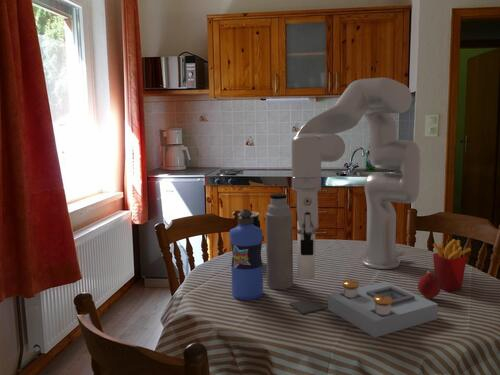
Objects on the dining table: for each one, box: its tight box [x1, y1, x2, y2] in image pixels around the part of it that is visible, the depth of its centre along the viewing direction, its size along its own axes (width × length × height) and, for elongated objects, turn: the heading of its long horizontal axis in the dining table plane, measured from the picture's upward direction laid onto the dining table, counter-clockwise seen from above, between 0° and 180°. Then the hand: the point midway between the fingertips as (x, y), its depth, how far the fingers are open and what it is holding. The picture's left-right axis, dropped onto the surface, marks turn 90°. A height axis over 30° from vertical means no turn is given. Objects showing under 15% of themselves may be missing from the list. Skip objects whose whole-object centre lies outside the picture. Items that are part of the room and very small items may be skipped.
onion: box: [417, 270, 442, 300], centre depth 123 cm, size 6×6×8 cm
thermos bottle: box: [265, 193, 294, 290], centre depth 136 cm, size 8×8×28 cm
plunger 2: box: [374, 295, 392, 317], centre depth 107 cm, size 4×4×7 cm
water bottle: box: [229, 208, 264, 301], centre depth 129 cm, size 9×9×25 cm
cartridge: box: [296, 220, 316, 280], centre depth 118 cm, size 5×5×15 cm
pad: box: [288, 298, 326, 315], centre depth 121 cm, size 7×7×1 cm
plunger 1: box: [341, 279, 360, 300], centre depth 118 cm, size 4×4×7 cm
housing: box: [327, 281, 439, 339], centre depth 115 cm, size 20×18×5 cm
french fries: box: [432, 238, 472, 293], centre depth 130 cm, size 9×8×15 cm
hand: (306, 251), depth 118 cm, fingers closed on cartridge, 4 cm apart
